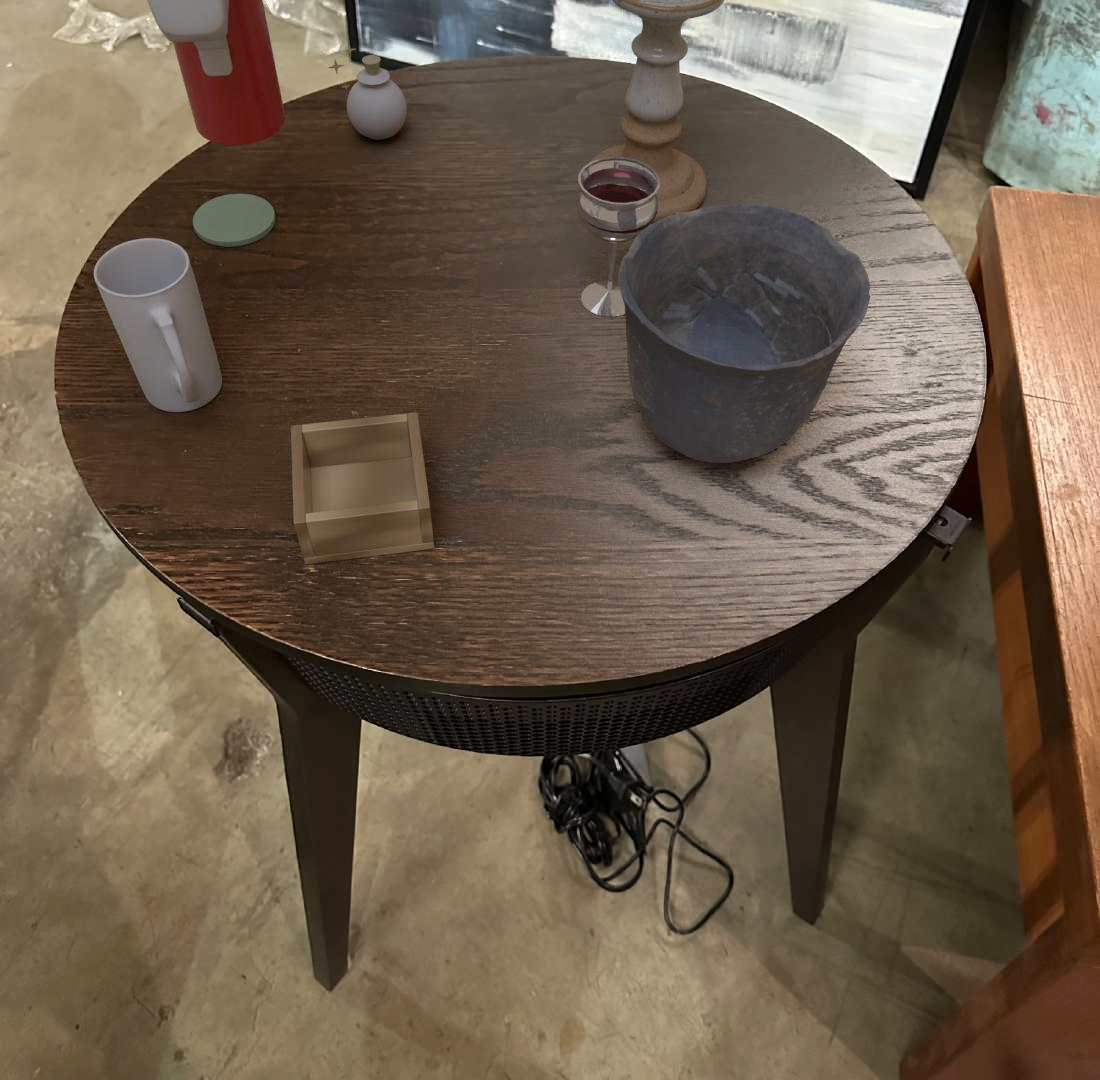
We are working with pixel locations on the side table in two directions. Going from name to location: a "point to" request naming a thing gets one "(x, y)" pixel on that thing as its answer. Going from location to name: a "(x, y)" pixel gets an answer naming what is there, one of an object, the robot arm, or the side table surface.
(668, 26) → the candle holder
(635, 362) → the dark grey metal pot
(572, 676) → the side table surface
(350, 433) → the holder
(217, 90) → the can
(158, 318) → the mug
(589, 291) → the wineglass
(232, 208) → the coaster
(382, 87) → the ornament
